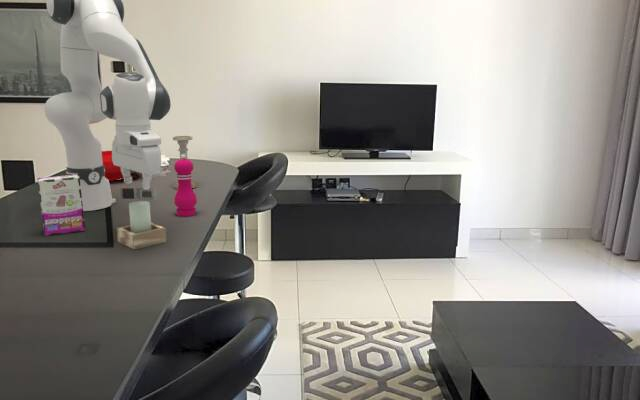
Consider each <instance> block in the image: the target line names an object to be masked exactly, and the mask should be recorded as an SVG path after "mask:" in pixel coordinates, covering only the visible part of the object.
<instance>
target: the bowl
mask: <svg viewBox="0 0 640 400" xmlns="http://www.w3.org/2000/svg"><path fill="white" fill-rule="evenodd" d="M102 161H103V165H104V168H105V175H104V176H105V178H107V179H108V180H109V181H111V182H114V181H113V180H117V179H120V178H124V177H123V175H122V172H121V167H119V166H116V165H114V164H113V161H112V150H103V151H102Z"/></svg>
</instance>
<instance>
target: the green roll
mask: <svg viewBox="0 0 640 400" xmlns="http://www.w3.org/2000/svg"><path fill="white" fill-rule="evenodd" d="M128 213H129V225H130V227H131V232H132V233H135V234H137V233H142V232H146V231H150V230H152V229H151V223H152V218H151V216H152V215H151V203H150V202H149V201H146V200H145V201H144V200H140V201H139V200H138V201H132V202H129V203H128Z"/></svg>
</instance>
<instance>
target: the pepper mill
mask: <svg viewBox="0 0 640 400" xmlns="http://www.w3.org/2000/svg"><path fill="white" fill-rule="evenodd" d="M193 170H194V163H193V162H192V161H191V160H190V159H186V155H185V154H182V155H181V159H180V158H179V159H178V160H176V161H175V163H174V171H175V172H176V179H177V182H178V189H176V193H175V195H174V205H175V206H176V207H177V208H176V215H177V216H179V217H192V216H195V215H196V214H197V208H196V205H197V204H198V200H197V195H196V193H195V191H194V189H192V186H191V181H192V179H193V173H192V172H193Z"/></svg>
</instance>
